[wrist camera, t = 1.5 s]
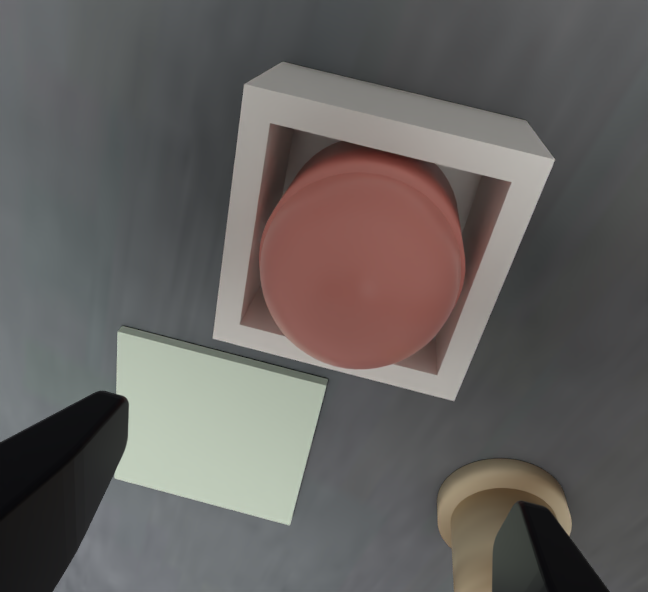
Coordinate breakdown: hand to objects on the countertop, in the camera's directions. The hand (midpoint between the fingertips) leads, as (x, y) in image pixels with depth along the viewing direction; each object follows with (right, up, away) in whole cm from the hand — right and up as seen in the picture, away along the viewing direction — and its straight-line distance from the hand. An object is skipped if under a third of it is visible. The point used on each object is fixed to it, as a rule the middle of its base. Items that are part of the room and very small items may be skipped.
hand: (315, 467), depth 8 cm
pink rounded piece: (+1, +5, +8) cm, 10 cm away
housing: (+2, +5, +9) cm, 11 cm away
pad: (-4, -3, +15) cm, 16 cm away
